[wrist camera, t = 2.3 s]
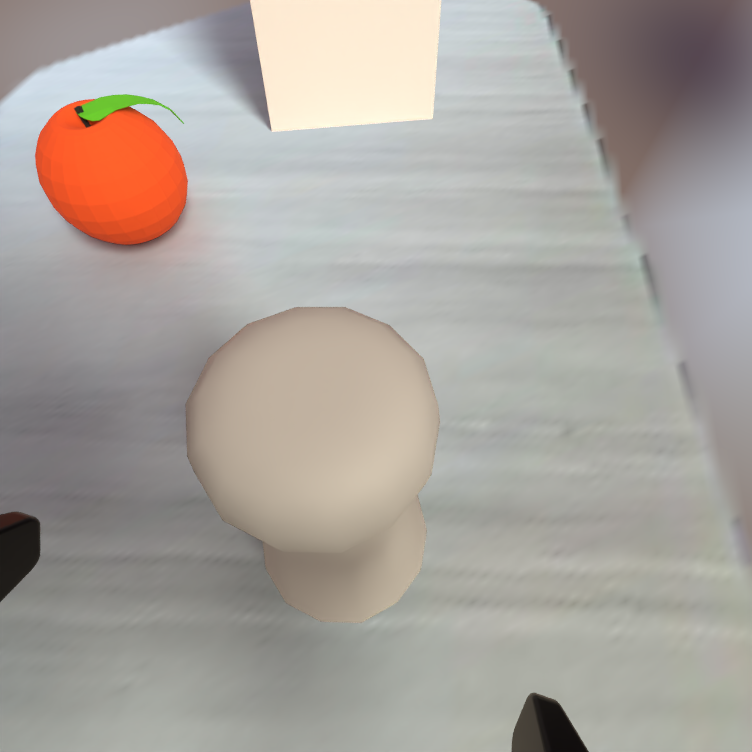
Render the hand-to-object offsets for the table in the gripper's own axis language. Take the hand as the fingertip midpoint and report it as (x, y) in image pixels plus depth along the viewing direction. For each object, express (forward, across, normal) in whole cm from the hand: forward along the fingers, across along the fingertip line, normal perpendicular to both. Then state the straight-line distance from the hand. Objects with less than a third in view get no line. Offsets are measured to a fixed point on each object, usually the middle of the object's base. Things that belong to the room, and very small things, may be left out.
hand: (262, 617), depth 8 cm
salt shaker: (+10, 0, +5) cm, 11 cm away
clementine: (+20, +17, -4) cm, 26 cm away
